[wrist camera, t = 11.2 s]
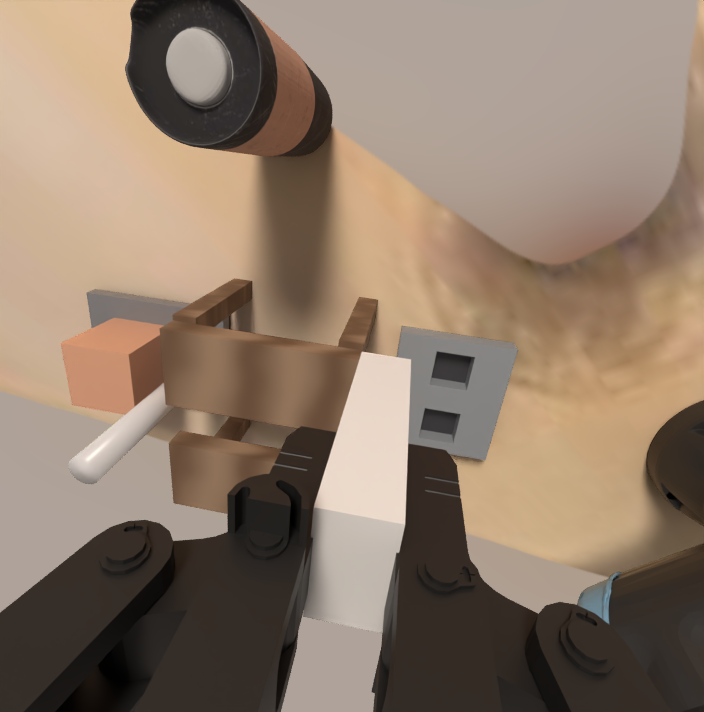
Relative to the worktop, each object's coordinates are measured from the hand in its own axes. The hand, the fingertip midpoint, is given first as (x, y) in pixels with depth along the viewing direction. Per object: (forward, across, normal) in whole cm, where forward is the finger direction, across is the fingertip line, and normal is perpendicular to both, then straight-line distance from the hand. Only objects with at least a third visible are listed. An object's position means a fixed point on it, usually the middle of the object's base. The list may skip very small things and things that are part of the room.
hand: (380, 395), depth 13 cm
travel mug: (+33, +12, -10) cm, 36 cm away
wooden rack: (+32, +18, +16) cm, 40 cm away
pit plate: (+32, -7, +16) cm, 37 cm away
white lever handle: (+32, +26, +16) cm, 45 cm away
